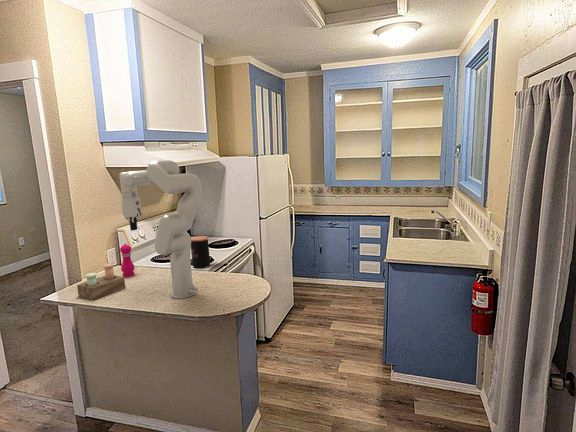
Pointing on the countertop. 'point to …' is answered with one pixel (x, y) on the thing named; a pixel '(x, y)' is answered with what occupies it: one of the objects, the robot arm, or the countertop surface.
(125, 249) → the pepper mill
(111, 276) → the peach peg
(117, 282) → the socket block
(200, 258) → the coffee jar
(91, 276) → the green plug
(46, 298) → the countertop surface
